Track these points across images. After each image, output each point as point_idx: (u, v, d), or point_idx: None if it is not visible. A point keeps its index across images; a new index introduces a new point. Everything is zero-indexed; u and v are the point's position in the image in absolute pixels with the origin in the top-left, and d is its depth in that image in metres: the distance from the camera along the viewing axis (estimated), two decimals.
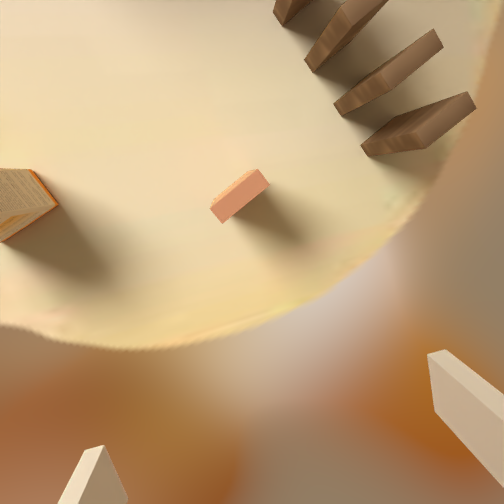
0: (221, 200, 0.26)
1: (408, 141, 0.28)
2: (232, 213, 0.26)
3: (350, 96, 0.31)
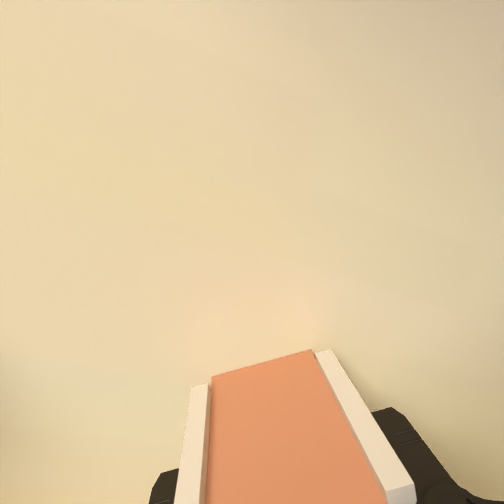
0: None
1: None
2: None
3: None
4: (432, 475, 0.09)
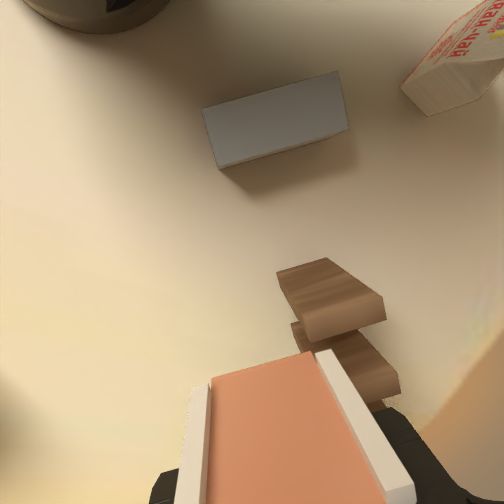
0: None
1: None
2: None
3: None
4: (432, 475, 0.09)
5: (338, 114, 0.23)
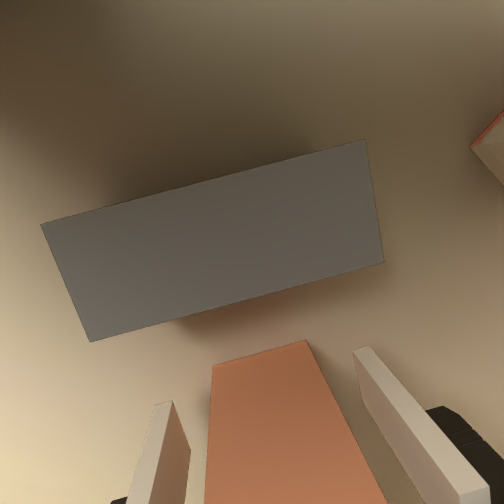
0: None
1: None
2: None
3: None
4: (502, 477, 0.08)
5: (362, 233, 0.10)
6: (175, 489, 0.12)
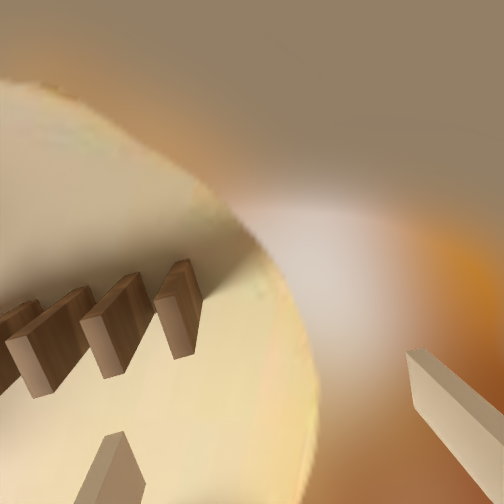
0: None
1: None
2: None
3: None
4: None
5: None
6: None
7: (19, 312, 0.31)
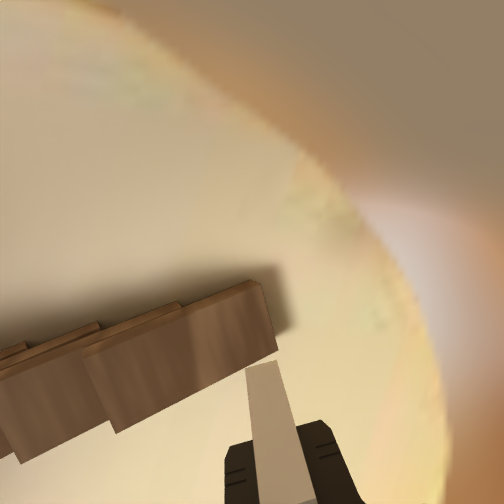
0: None
1: None
2: None
3: None
4: (341, 489, 0.09)
5: None
6: None
7: None
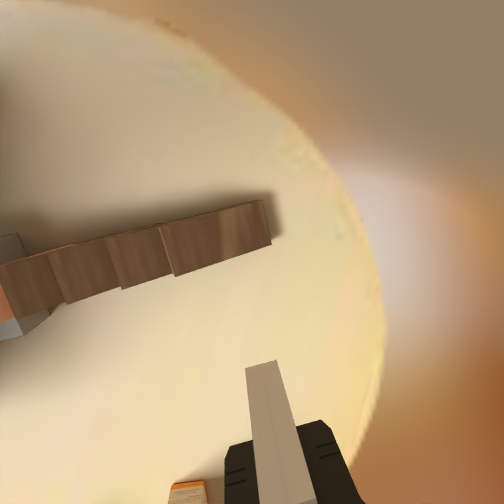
0: None
1: None
2: None
3: None
4: (341, 489, 0.09)
5: None
6: None
7: None
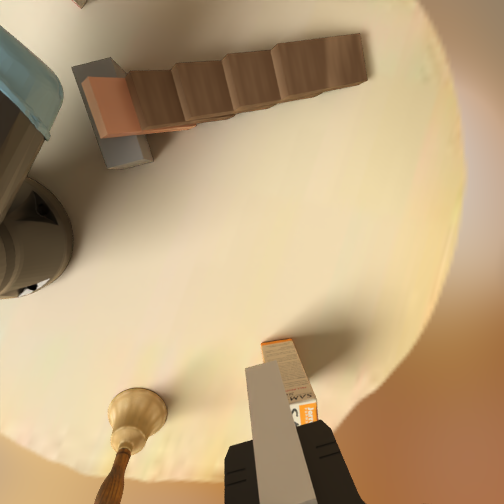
0: (96, 125, 0.31)
1: (297, 95, 0.35)
2: (102, 121, 0.30)
3: (285, 101, 0.37)
4: (341, 489, 0.09)
5: (101, 66, 0.32)
6: None
7: None
